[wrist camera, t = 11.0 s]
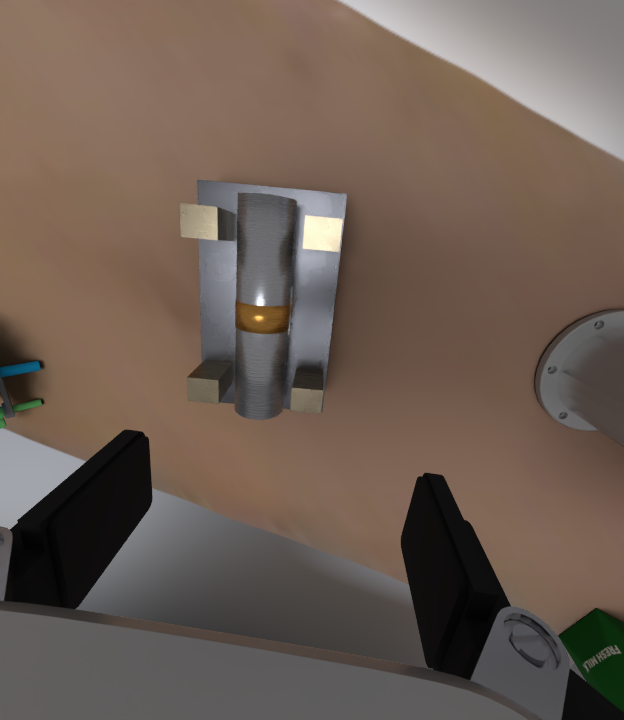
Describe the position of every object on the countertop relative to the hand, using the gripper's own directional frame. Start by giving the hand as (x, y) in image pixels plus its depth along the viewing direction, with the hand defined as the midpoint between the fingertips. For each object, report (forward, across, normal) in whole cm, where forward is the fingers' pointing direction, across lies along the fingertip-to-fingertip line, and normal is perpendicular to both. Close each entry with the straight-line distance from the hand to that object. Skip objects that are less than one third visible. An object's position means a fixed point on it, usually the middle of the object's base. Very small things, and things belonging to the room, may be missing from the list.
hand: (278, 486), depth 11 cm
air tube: (+15, +4, -3) cm, 16 cm away
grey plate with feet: (+22, +4, -3) cm, 23 cm away
